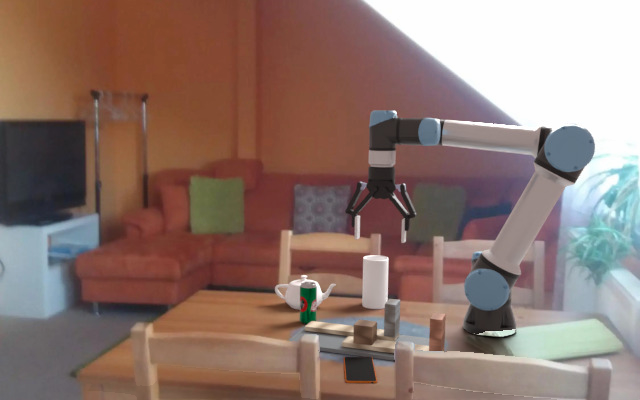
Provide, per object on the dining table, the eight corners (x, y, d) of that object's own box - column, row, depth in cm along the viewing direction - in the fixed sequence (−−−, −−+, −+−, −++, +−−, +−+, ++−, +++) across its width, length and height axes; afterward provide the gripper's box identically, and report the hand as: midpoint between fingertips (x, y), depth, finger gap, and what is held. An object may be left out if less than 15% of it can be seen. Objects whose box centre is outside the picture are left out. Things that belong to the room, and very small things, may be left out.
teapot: (337, 302, 228) (337, 272, 227) (334, 312, 216) (334, 281, 215) (277, 299, 230) (278, 270, 229) (271, 310, 218) (271, 279, 217)
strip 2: (444, 352, 177) (445, 314, 176) (440, 359, 172) (441, 320, 170) (348, 340, 186) (349, 303, 184) (342, 346, 180) (342, 308, 179)
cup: (367, 309, 219) (368, 261, 217) (358, 303, 227) (359, 255, 225) (391, 308, 222) (392, 259, 220) (382, 301, 229) (383, 254, 227)
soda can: (314, 325, 203) (314, 285, 201) (297, 323, 204) (298, 284, 202) (317, 320, 208) (318, 281, 206) (301, 319, 209) (302, 280, 207)
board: (441, 343, 188) (441, 339, 188) (429, 365, 171) (429, 361, 171) (308, 326, 201) (308, 323, 201) (285, 346, 184) (285, 342, 184)
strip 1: (399, 335, 190) (400, 299, 189) (394, 341, 185) (395, 304, 183) (311, 324, 199) (312, 290, 197) (304, 330, 193) (305, 295, 192)
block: (376, 339, 182) (377, 321, 182) (371, 345, 178) (372, 326, 177) (358, 337, 184) (359, 319, 183) (353, 343, 179) (353, 324, 179)
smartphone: (372, 359, 176) (372, 356, 176) (377, 385, 159) (377, 381, 159) (343, 359, 176) (343, 355, 176) (345, 384, 159) (345, 381, 159)
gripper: (428, 166, 191) (426, 241, 194) (343, 163, 199) (342, 235, 202) (423, 168, 184) (420, 245, 187) (335, 164, 192) (334, 239, 195)
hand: (380, 240), depth 194 cm, fingers open, 13 cm apart
